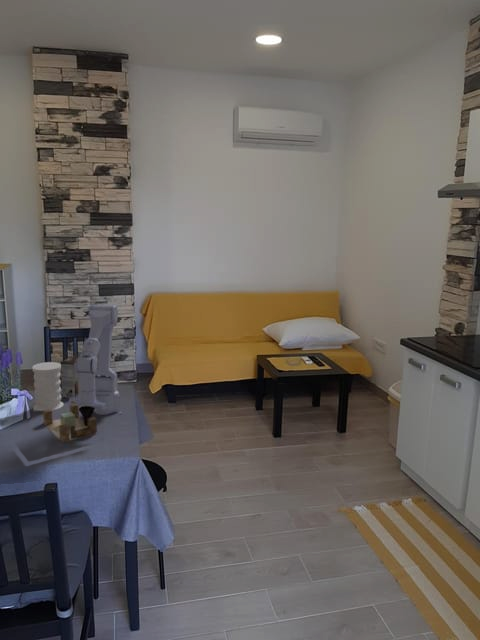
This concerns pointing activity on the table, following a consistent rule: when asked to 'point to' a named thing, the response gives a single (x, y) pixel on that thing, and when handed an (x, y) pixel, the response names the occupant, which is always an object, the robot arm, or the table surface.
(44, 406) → the decorative container
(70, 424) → the lock block
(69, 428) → the stool board
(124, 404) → the table surface
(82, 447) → the table surface
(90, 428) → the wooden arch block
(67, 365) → the coffee box
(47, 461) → the table surface
